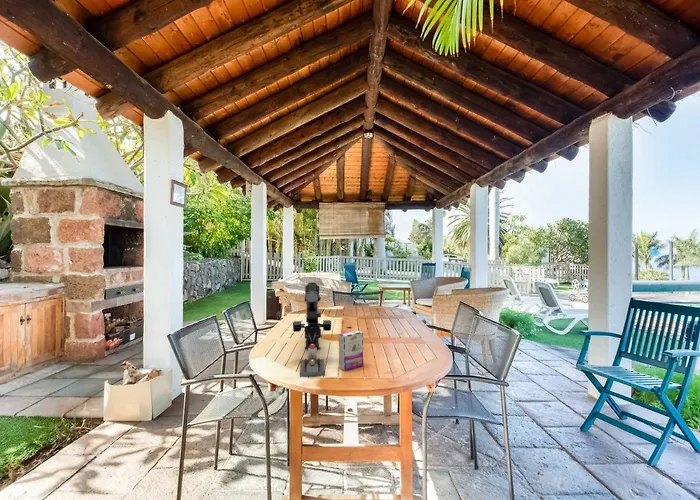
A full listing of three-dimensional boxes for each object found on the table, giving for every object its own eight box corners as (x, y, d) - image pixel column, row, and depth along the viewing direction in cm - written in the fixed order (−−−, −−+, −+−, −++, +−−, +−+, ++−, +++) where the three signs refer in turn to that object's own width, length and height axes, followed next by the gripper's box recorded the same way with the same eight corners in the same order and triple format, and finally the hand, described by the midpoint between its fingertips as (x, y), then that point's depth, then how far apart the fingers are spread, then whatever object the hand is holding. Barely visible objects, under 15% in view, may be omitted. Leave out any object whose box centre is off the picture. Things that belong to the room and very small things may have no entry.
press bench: (301, 363, 166) (301, 349, 166) (323, 362, 167) (323, 348, 167) (299, 377, 149) (299, 361, 149) (324, 376, 151) (324, 360, 150)
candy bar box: (357, 363, 166) (357, 329, 166) (363, 366, 162) (363, 332, 162) (338, 368, 160) (338, 333, 160) (344, 371, 156) (344, 335, 156)
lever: (308, 361, 158) (307, 342, 158) (316, 361, 159) (316, 342, 159) (308, 363, 156) (307, 344, 156) (316, 363, 156) (316, 344, 156)
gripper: (292, 305, 168) (291, 333, 157) (330, 304, 170) (332, 331, 159) (293, 317, 176) (292, 345, 165) (330, 316, 178) (331, 343, 167)
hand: (312, 341), depth 164 cm, fingers closed
